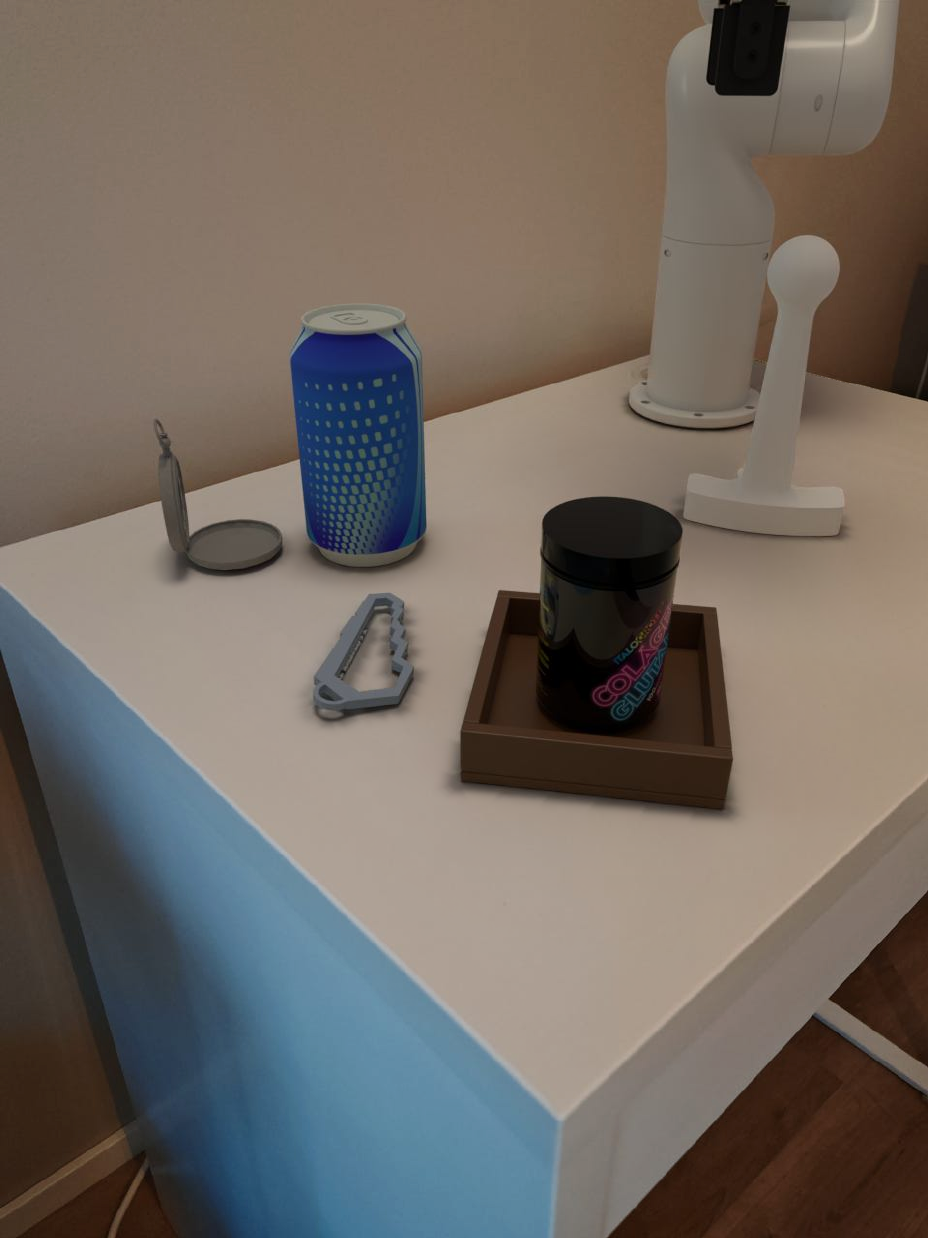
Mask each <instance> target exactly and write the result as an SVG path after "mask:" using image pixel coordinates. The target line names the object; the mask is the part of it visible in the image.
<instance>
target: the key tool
mask: <svg viewBox="0 0 928 1238" xmlns="http://www.w3.org/2000/svg"><path fill="white" fill-rule="evenodd" d="M377 607H387V608H389V609H390V616H391V617H390V625H389V636H390V637H391V638H390V641H389V649H390V650H391V651H392V652H394V654H393V656H392V657H391V669H392V670H394V671H395V672H396V673H397V672H398V673H399V676H398V679H397V681H396V683H395V686H393V687H386V688H378V689H377V688H376V689H370V690H362V691H358V689H356V688H354V687H352V686H351V685H350V684H348V683H347V682H345V681H344V680H342V679H343V677H344V673H343V672H342V671H344V672H347V670H348V668H349V665H350V664H351V661H353V658H354V656H355V654H356V653H357V650H358V649H359V647H360V645H361V641H362V640H363V639H364V636H366V634H367V630H368V629H365V627H366V626H367V624H368V622H369V620H370V618H371V616H372V614H373V612H374V611H375V608H377ZM404 610H405V601H404V600H403V599H401V598H399V597H398V596H396V595H395V594H393V593H391V592H377V593H368V595H367V596H366V598H365V599H364V600H362V602H361V604H360V605H359V606H358V607H357V609H356V610H355V612H354V615H351V616H350V617H349V619H348V620H347V622H346V624H345V625H344V626H343V628H342V629H341V631H340V635H339V636H340V637H339V639H338V640H337V642H336V644H335V646H334V647H332V648H331V650H330V651H329V653H328V655H326V657H325V659H324V660H323V662H322V663H321V665H320V666H319V667H318V669H317V671H316V672H315V674H314V675H313V685H315V686H314V688H313V690H312V699H313V702H314V704H315V705H316V706H317V707H318V708H320V709H323V710H326V711H331V712H332V711H341V710H344V709H346V710H352V709H353V710H354V709H363V708H370V707H381V706H390V705H399V704H400V701H401V699H402V698H403V695H404V694H405V692H406V690H407V688H408V686H409V684H410V681H411V680H412V678H413V676H414V675H415V674H414V673H415V666H414V664H412V663H410V662H409V661H407V660H406V659H405V658H406V655H407V653H408V652H409V641H407V640H405V637H406V631H407V628H406V627H405V626H404V625H402V624H401V622H402V620H403V618H404ZM341 672H342V673H341ZM323 692H324V693H325V694H326V695H327V696H329V697H330V698H331V699H333V700H328V699H326V698H323V697H322V696H321V694H322V693H323Z"/></svg>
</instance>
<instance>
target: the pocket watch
mask: <svg viewBox="0 0 928 1238" xmlns="http://www.w3.org/2000/svg"><path fill="white" fill-rule="evenodd" d="M158 427H159V429H160V432H159V429H158ZM153 430H154V433H155V435H156V438H157V440H158V444H159V446H160V448H161V450H162V453H160V454H159V455H158V467H157V469H158V470H157V473H158V474H157V475H158V483H159V493H160V503H161V508H162V514H163V520H164V525H165V530H166V535H167V538H168V543H169V545H170V547H171V550H172V551H173V552H178V553H182V552H184V554H186V556H187V557H188V559H189V560H190V561H191V562H192V563H194V564H196V565H197V566H198V567H203V568H207V569H209V570H220V571H221V570H222V571H228V570H241V569H247V568H251V567H254V566H258V565H260V564H262V563H265V562H267V561H269V560H271V559H272V558H273V557H274V556H276V555H277V553H279V552H280V550H281V549H282V546H283V533H282V531H281V529H279V528H278V527H277V526H275V525H274V524H272V523H270V522H267V521H264V520H257V519H256V520H255V519H249V518H239V519H229V520H223V521H218V522H213V523H211V524H208V525H205V526H202V527H200V528H199V529H197V530H195V531H194V532H193V533H191V534H190V522H189V515H188V505H187V499H186V493H185V487H184V480H183V475H182V471H181V466H180V461H179V460H178V458H177V456H176V455H174V453H173V452H172V451H171V445H172V440H171V439H170V436H168V432H166V431H165V429H164V427H163V425H162V423H161V421H160V420H159V419H158V418H153Z"/></svg>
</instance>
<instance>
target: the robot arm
mask: <svg viewBox="0 0 928 1238" xmlns="http://www.w3.org/2000/svg"><path fill="white" fill-rule="evenodd" d="M697 5H698V12H699V14H700V17H701V20H702V21H703V23H704V25H702V26H698V27H697V28H695V29H693V30H691V31H689V32H688V33H687V34H685V35H684V36H683V37H682V38H681V39H680V40H679V41H678V42H677V44H676V46H674V48H673V51H672V52H671V55H670V57H669V61H668V64H667V70H666V76H665V77H666V78H665V87H664V88H665V91H664V92H665V93H664V95H665V97H664V98H665V123H666V125H665V127H666V129H665V130H666V176H665V178H666V179H665V190H664V191H665V192H664V193H665V194H664V206H663V218H662V228H661V237H660V238H661V240H660V247H659V248H660V249H659V258H658V269H657V278H656V286H655V287H656V288H655V297H654V298H655V299H654V310H653V317H652V318H653V319H652V328H651V329H652V330H651V339H650V349H649V357H648V358H649V359H648V370H647V378H646V379H645V380H642V381H640V382H638V383H636V384H634V385H633V386H632V387H631V389H630V391H629V398H628V399H629V401H628V403H629V406H630V407H631V408H632V409H633V411H635V412H636V413H637V414H639V415H641V416H643V417H644V418H646V419H649V420H652V421H655V422H659V423H662V424H666V425H672V426H676V427H683V428H694V429H722V428H732V427H738V426H741V425H745V424H746V425H747V424H749V423H750V422H754V420H755V416H756V411H757V407H758V402H759V398H760V392H759V391H757V390H755V389H754V388H752V387H751V385H750V384H751V378H752V372H753V371H752V370H753V365H754V359H755V352H756V346H757V340H758V334H759V333H758V332H759V327H760V319H761V314H762V308H763V302H764V294H765V287H766V283H767V270H768V266H769V262H770V256H771V249H772V243H773V238H774V231H775V225H776V210H775V205H774V200H773V199H772V196H771V194H770V192H769V189H768V188H767V186H766V185H765V183H764V181H763V180H762V179H761V178H760V175H758V173H757V172H756V170H755V168H754V167H753V164H752V159H753V158H756V157H768V156H797V157H798V156H803V157H804V156H806V157H838V156H848V155H853V154H856V153H858V152H860V151H862V150H864V149H865V148H866V147H868V146H870V144H871V143H872V142H873V141H874V140H875V138H876V137H877V136H878V134H879V132H880V130H881V128H882V126H883V124H884V121H885V118H886V114H887V110H888V107H889V104H890V103H889V102H890V97H891V92H892V84H893V75H894V65H895V55H896V43H897V32H898V23H899V22H898V21H899V20H898V19H899V11H900V10H899V9H900V0H697Z"/></svg>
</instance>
